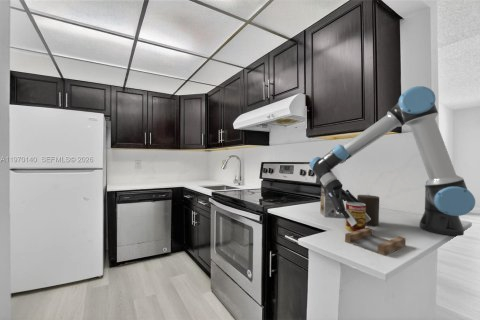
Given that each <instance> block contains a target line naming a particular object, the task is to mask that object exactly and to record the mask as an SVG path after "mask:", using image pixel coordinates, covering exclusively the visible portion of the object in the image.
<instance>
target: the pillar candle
mask: <svg viewBox="0 0 480 320" xmlns="http://www.w3.org/2000/svg"><path fill="white" fill-rule="evenodd" d="M356 199H357V200H359V201H360V202H361V203H363V204H365V205H366V214H367V215H368V216H369V217H370V219H371V220H370V221H368V222H367V223H366V222H365V226H369V227H377V226H379V220H380V219H379V218H380V196H378V195H371V194H357V196H356Z"/></svg>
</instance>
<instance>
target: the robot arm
mask: <svg viewBox="0 0 480 320" xmlns="http://www.w3.org/2000/svg"><path fill="white" fill-rule="evenodd" d="M437 108H438V107H437V106H436V94H435V92H434V91H433V90H432V89H431V88H429V87H426V86H423V85H422V86H421V85H420V86H418V85H417V86H412V87H411V88H408V89H407V90H405V91H404V92H402V94H401V95H400V96H399V98H398V101H397V103H396V104H395V105H394V106H393V107H392V108H391V109H389V110H388V111H387V113H386V115H385V116H383V117H382V118H380V119H379V120H378V121H376V122H375V123H373V124H372V125H371V126H369V127H368V128H366V129H365V130H363V131H362V132H361V133H359V134H357V135H356V136H355V137H353V138H352V139H350V140H348V142H346V143H345V144H343V145H342V144H338V145H336V146H334V147H333V148H332V149H331V150H330V151H329V152H327V154H325V155H324V156H323V157H320V156H315V158H312V159H311V160H310V162H309V165H308V166H309V168H310V169H311V171H312V172H313V174H314V175H315V176H316V178H317V180H319V182H320V183H321V185H322V186H324V187H325V188H326V190H327V191H328V193H329V194H328V196H329V197H330V199H331V201H332V203H333V205H334V207H335V209H336V213H338V214H339V215H341V214H342V215H343V217H344V218H345V220H346V219H347V221H348V222H349V223H350V225H351V226H354V225H355V224H357V222H356V221H355V219H354V218H353V217H352V215H351V214H350V213H349V211H348V210H346V205H345V204H344V202H358V203H361V202H360V201H359V200H357V197H355V196H354V195H353V193H351V192H350V190H349V189H346V190H344V189H343V184H342V183H341V181H340V179H338V177H337V176H336V175H335V174H334V173H333V171H332V170H333V169H334V168H335V167H337V166H338V165H339V164H344V163H345V162H347V160H348V159H350V158H352V157H353V156H355V155H356V154H358V153H359V152H361V151H363V150H364V149H366V148H367V147H369V146H370V145H371V144H373V143H374V142H376V141H378V140H379V139H381V138H382V137H384V136H385V135H387V134H389V133H390V132H391V131H393V130H394V129H396V128H397V127H398V128H399V127H403V126H404V125H406V126H409V127H410V130H411V133H412V135H413V137H414V140H415V143H416V147H417V149H418V152H419V155H420V157H421V161H422V163H423V165H424V168H425V171H426V175H427V177H428V179H427V180H426V181H425V184H424V189H425V192H424V193H425V195H424V212H423V214H422V216H421V218H420V220H419V228H420V229H422V230H424V231H427V232H430V233H434V234H440V235H445V236H452V237H453V236H454V237H455V236H456V237H458V236H463V235H465V229H464V226H463V223H462V222H461V218H460V216H464V215H467V214H469V213H471V211H473V210H474V208H475V205H476V198H475V196H474V194H473V193H472V192H471V191H470V190H469V189H468V187H467V185H466V182H465V180H464V178H463V177H461V176H460V175H458V174H457V173H456V170H455V167H454V165H453V161H452V160H451V157H450V154H449V151H448V149H447V146H446V143H445V141H444V139H443V136H442V133H441V131H440V128H439V125H438V123H437V120H436V118H437V117H438V115H439V112H438V109H437ZM370 220H371V219H370V217H369V216H368V215H367V214H366V213H365V222H366V223H367V222H368V221H370Z"/></svg>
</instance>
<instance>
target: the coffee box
mask: <svg viewBox="0 0 480 320" xmlns="http://www.w3.org/2000/svg"><path fill="white" fill-rule="evenodd" d="M328 194H329V193H328V191H327V190H326V188H325V187H324V186H323V185H320V210H319V212H320V214H321V215H322V216H323V217H324V218H336V217H337V211H336V209H335V207H334V205H333V203H332V201H331V199H330V197H329V196H328Z"/></svg>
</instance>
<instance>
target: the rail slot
mask: <svg viewBox="0 0 480 320" xmlns="http://www.w3.org/2000/svg"><path fill="white" fill-rule="evenodd" d="M344 239H345V240H344V242H345V243H348V244H350V245H353V246H356V247H359V248H362V249H364V250H366V251H367V250H368V251H371V252H374V253H375V254H379V255H382V256H386V255H388V254H391V253H394V252H395V251H397V250H400V249H401V248H403V247H406V240H407V239H406V237H402V236H397V237H395V238H392V239H386V238H383V237H380V236H377V235H373V228H370V227H365V228H364V229H361V230H357V231H354V232H350V231H349V232H347V233H345V236H344Z"/></svg>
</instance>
